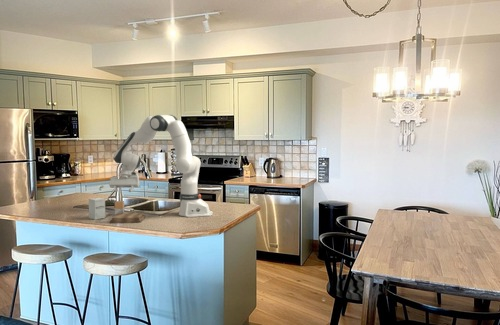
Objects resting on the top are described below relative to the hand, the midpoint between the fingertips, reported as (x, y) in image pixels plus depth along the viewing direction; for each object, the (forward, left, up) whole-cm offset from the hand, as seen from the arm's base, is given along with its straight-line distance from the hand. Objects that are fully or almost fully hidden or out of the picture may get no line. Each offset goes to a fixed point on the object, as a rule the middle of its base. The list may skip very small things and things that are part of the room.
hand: (123, 191), depth 257 cm
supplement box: (+12, +18, -14) cm, 26 cm away
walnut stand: (-9, +25, -14) cm, 30 cm away
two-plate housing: (0, +10, -14) cm, 17 cm away
